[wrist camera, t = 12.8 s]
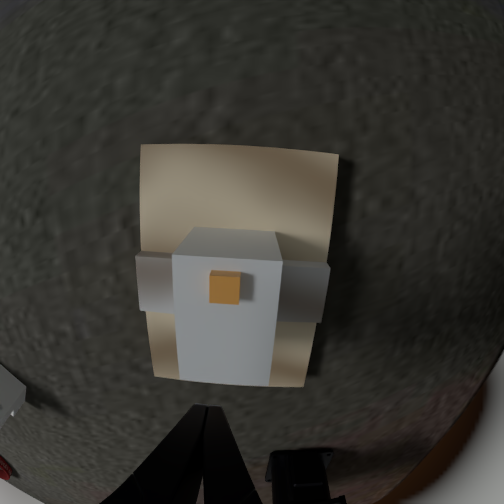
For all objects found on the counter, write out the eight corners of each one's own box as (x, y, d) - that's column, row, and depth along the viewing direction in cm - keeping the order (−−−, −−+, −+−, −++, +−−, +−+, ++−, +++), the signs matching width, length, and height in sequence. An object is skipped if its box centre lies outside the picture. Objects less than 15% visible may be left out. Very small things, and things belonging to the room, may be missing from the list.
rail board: (300, 374, 22) (305, 395, 19) (159, 364, 22) (151, 384, 19) (332, 154, 17) (343, 154, 15) (149, 145, 17) (134, 144, 14)
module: (265, 333, 19) (268, 394, 14) (195, 329, 19) (177, 387, 14) (274, 231, 17) (283, 266, 12) (194, 226, 17) (167, 259, 12)
